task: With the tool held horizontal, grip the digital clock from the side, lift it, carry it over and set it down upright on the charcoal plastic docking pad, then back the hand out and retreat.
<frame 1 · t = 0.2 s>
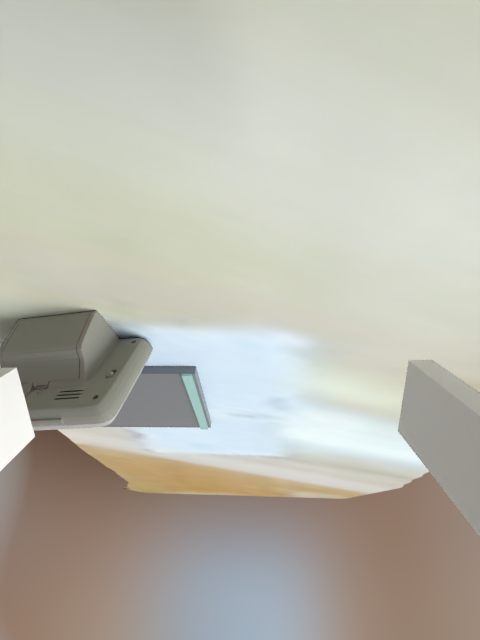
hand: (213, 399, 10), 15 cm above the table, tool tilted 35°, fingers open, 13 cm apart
docking pad: (124, 398, 45), on the table
digital clock: (81, 336, 33), on the table
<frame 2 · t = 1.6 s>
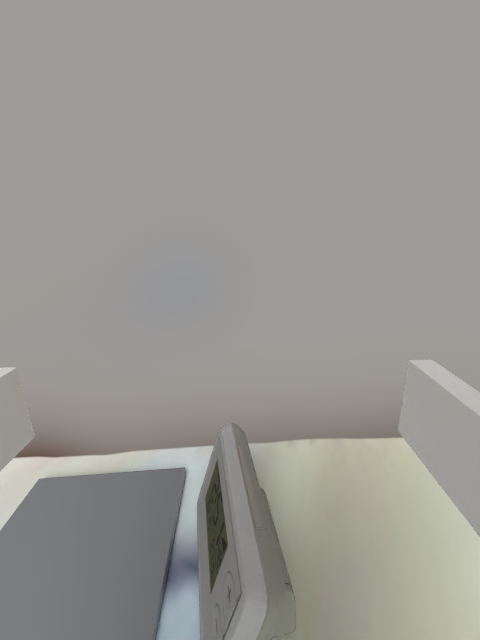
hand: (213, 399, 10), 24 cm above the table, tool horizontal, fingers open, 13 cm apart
docking pad: (61, 593, 26), on the table
digital clock: (233, 581, 26), on the table
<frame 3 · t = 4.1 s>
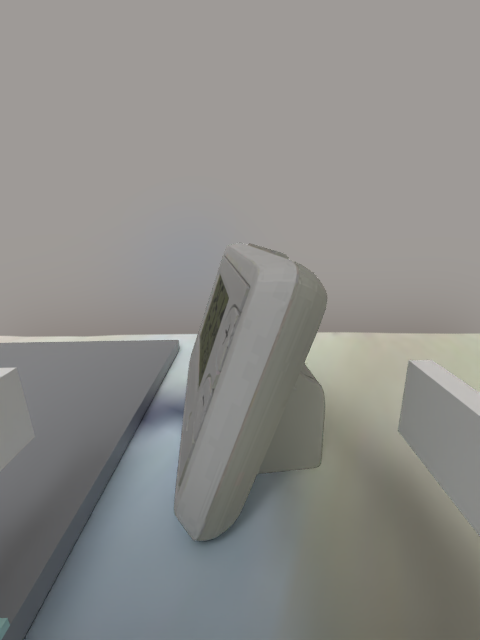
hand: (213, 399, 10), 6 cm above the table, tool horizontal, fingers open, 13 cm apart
digital clock: (231, 424, 19), on the table
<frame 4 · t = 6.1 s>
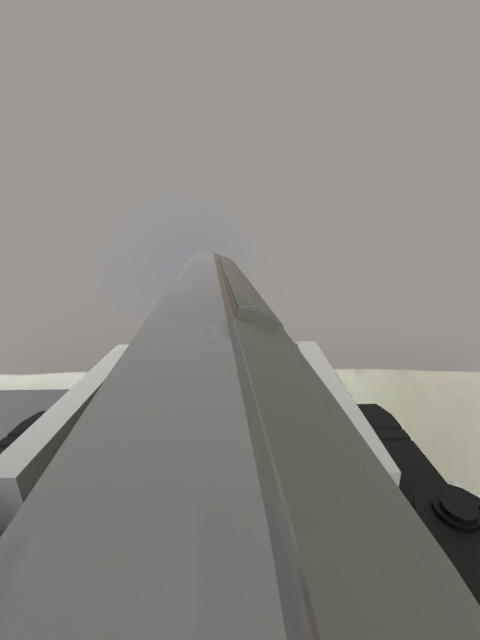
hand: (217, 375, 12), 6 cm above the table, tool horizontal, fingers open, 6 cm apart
digital clock: (184, 587, 10), on the table, touching gripper
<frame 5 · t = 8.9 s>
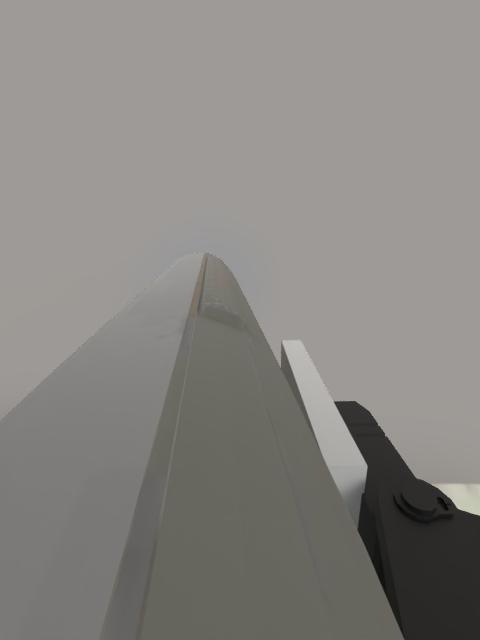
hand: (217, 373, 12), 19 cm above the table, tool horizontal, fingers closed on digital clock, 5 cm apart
digital clock: (171, 583, 10), point 13 cm above the table, touching gripper
when the fingers open (8 cm above the table, at t = 11.3 s): digital clock drops 1 cm, resting on docking pad.
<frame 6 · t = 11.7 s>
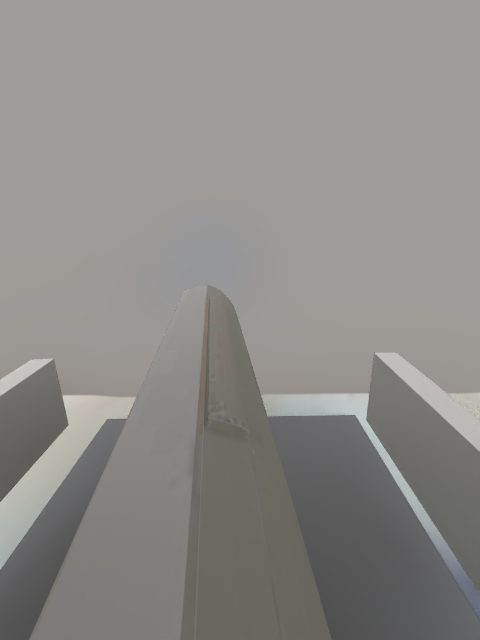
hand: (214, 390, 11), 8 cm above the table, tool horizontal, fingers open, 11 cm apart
digital clock: (174, 619, 11), point 1 cm above the table, touching docking pad
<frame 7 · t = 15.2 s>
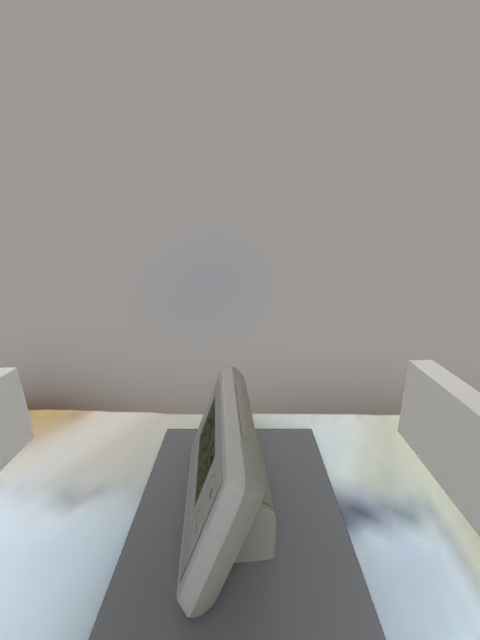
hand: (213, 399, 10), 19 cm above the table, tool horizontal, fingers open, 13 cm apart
docking pad: (238, 525, 26), on the table
digital clock: (218, 513, 26), point 1 cm above the table, touching docking pad
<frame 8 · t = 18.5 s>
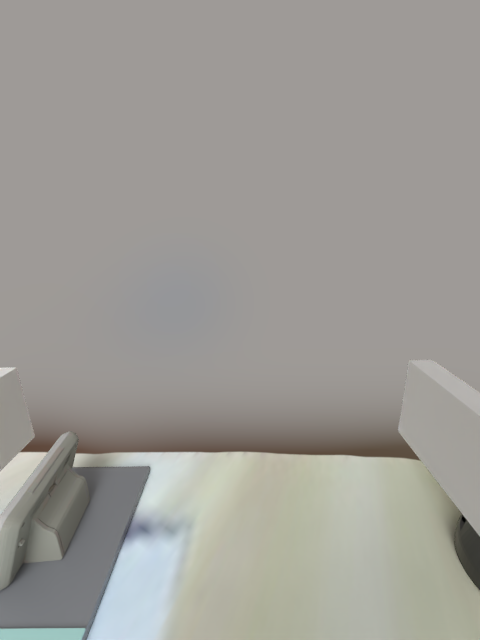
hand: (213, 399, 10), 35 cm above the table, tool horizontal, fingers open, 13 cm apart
docking pad: (59, 538, 41), on the table
digital clock: (47, 530, 42), point 1 cm above the table, touching docking pad
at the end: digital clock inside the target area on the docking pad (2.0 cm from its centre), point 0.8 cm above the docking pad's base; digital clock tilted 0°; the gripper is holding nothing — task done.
